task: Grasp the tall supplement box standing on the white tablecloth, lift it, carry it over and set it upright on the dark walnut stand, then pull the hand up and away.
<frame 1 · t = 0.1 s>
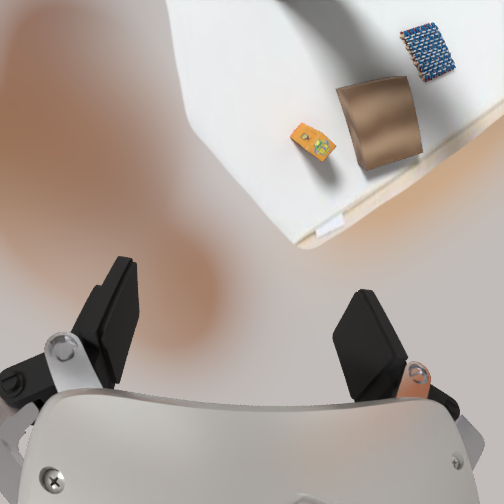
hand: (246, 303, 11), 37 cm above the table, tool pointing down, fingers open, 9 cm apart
walnut stand: (377, 119, 41), on the table
supplement box: (303, 135, 43), on the table
woven mat: (426, 51, 34), on the table
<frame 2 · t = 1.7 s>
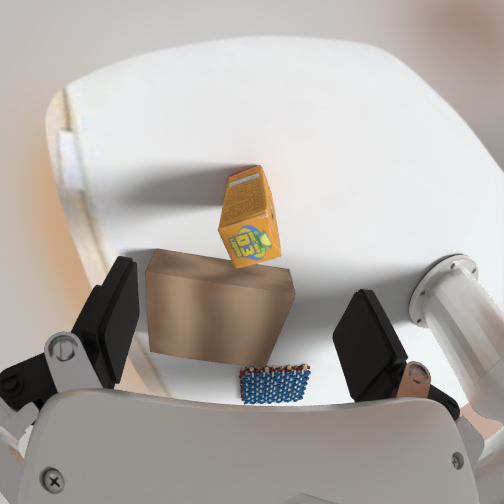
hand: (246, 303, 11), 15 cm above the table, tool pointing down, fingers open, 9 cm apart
walnut stand: (215, 302, 32), on the table
supplement box: (248, 186, 25), on the table
woven mat: (272, 379, 42), on the table
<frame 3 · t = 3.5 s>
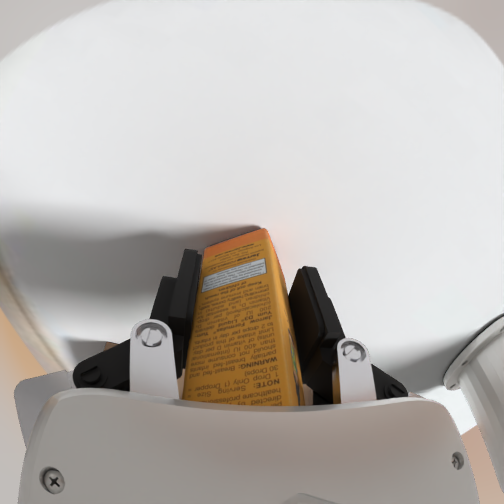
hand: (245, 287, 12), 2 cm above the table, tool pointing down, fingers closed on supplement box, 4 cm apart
supplement box: (242, 261, 14), on the table, touching gripper
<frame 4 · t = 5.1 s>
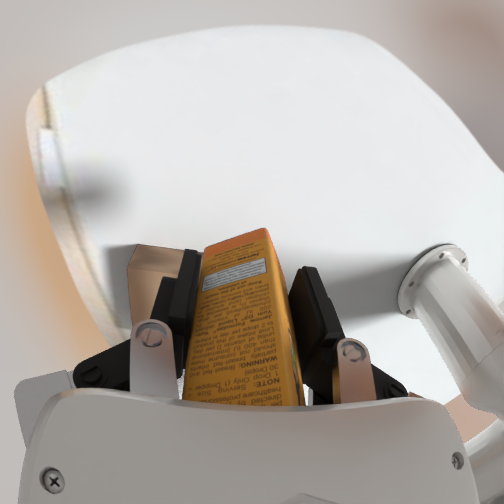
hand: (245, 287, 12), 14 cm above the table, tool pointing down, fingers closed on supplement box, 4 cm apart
walnut stand: (199, 297, 31), on the table
supplement box: (242, 261, 14), point 12 cm above the table, touching gripper
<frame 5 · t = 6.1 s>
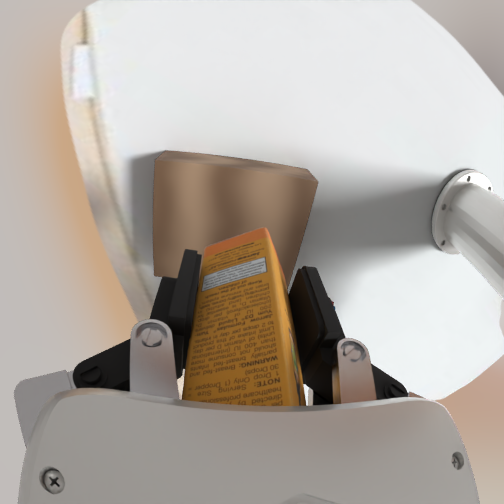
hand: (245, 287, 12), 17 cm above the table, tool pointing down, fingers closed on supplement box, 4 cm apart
walnut stand: (228, 213, 29), on the table
supplement box: (242, 260, 14), point 15 cm above the table, touching gripper
when the fingers open (7 cm above the table, at t = 8.6 s): supplement box drops 1 cm, resting on walnut stand.
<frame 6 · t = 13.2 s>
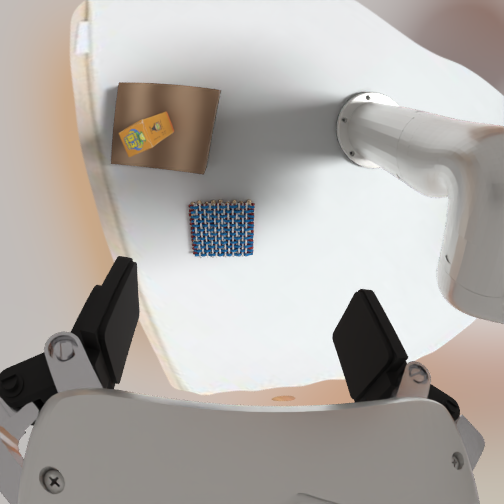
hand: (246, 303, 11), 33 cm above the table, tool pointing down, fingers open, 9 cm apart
walnut stand: (166, 123, 37), on the table
supplement box: (160, 126, 34), point 4 cm above the table, touching walnut stand
woven mat: (222, 226, 47), on the table
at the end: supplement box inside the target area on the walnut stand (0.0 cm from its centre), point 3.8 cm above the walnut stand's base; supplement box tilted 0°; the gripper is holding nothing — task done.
